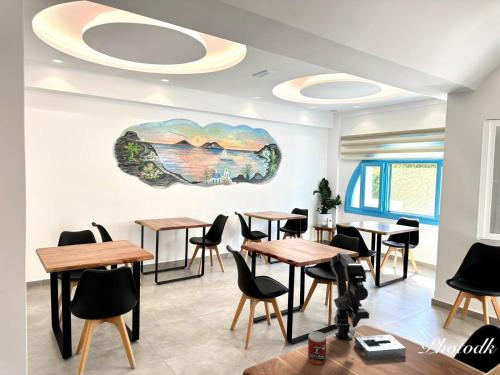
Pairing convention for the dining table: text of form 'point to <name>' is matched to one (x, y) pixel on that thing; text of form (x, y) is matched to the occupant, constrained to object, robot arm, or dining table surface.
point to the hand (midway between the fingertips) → (352, 325)
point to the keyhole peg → (351, 328)
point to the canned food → (317, 348)
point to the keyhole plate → (380, 347)
